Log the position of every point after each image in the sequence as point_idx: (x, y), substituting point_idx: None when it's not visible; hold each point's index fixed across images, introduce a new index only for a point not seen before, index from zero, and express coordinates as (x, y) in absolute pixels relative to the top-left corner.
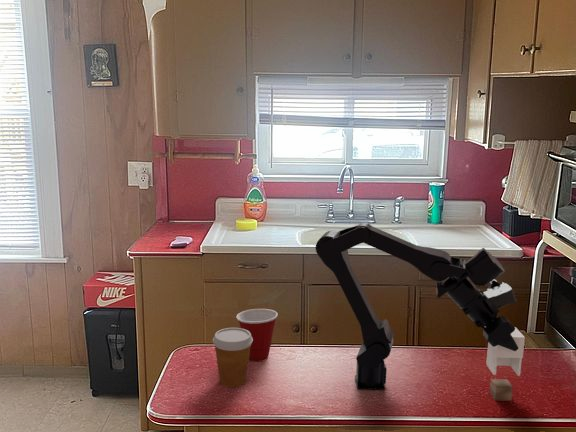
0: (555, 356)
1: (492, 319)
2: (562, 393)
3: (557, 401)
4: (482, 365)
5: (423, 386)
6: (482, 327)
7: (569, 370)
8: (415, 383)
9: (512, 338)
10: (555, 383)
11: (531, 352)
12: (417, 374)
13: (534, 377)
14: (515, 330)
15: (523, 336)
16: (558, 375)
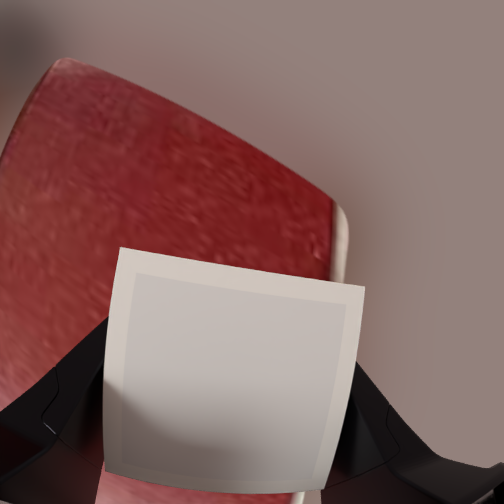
0: (61, 84)
1: (62, 473)
2: (220, 147)
3: (258, 183)
4: (37, 281)
5: (149, 489)
6: (94, 490)
7: (121, 81)
8: (135, 497)
9: (393, 410)
10: (167, 136)
11: (27, 123)
12: None
13: (123, 170)
14: (201, 294)
15: (348, 290)
16: (132, 110)
